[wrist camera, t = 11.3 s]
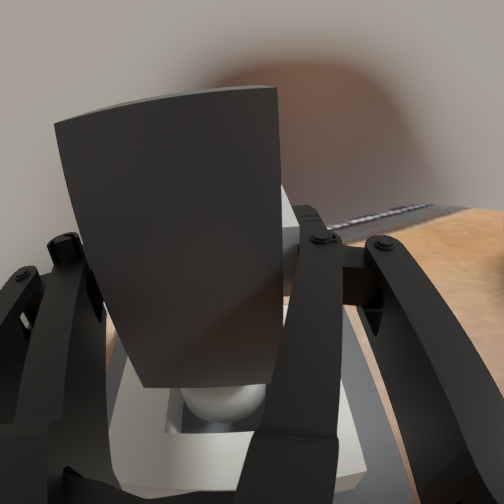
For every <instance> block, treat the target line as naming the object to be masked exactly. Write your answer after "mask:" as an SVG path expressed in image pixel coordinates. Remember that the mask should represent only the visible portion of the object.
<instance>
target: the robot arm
mask: <svg viewBox="0 0 504 504" xmlns="http://www.w3.org/2000/svg"><path fill="white" fill-rule="evenodd" d="M281 195H282V236H283V297H284V296H290V299H289V304H288V309H287V313H286V318H285V323H284V327H283V332H282V336H281V341H280V345H279V349H278V354H277V358H276V362H275V367H274V371H273V375H272V379H271V383H270V387H269V392H268V396H267V400H266V404H265V408H264V412H263V416H262V419H261V423H260V426H259V428H258V429H257V430H255V431H254V433H253V435H252V437H251V440H250V443H249V446H248V450H247V453H246V457H245V460H244V464H243V467H242V471H241V474H240V478H239V481H238V484H237V488H236V491H195V492H190V493H185V494H179V495H173V496H167V497H160V498H153V499H145V498H141V497H139V496H136V495H133V494H131V493H128V492H126V491H123V490H122V488H121V486H120V483H119V481H118V479H117V478H116V476H115V474H114V471H113V468H112V462H111V453H110V443H109V431H108V417H107V399H106V317H107V313H106V309H105V307H104V304H103V302H104V300H103V297H102V295H101V292H100V289H99V287H98V284H97V281H96V279H95V276H94V273H93V270H92V268H91V265H90V262H89V259H88V256H87V253H86V250H85V247H84V244H83V245H82V244H81V241H80V238H79V235H78V234H77V233H76V232H69V233H65V234H62V235H59V236H57V237H55V238H54V239H52V240H51V241H50V242H49V243H48V244H47V248H48V250H49V253H50V256H51V259H52V261H53V264H54V266H53V269H52V272H51V273H47V274H44V275H41V276H40V275H39V273H38V270H37V268H36V267H35V266H27V267H26V266H25V267H22V268H20V269H18V271H16V272H15V273H14V274H13V275H12V276H11V277H10V278H9V280H8V281H7V282H6V283H5V285H4V286H3V288H2V289H1V290H0V504H333V498H334V490H335V483H336V475H337V466H338V457H339V439H338V437H337V426H338V414H339V401H340V385H341V365H342V334H343V305H353V306H356V308H357V312H358V314H359V317H360V319H361V322H362V324H363V327H364V330H365V332H366V335H367V337H368V340H369V343H370V345H371V348H372V351H373V353H374V356H375V359H376V362H377V364H378V367H379V370H380V373H381V375H382V378H383V381H384V384H385V387H386V390H387V393H388V396H389V399H390V402H391V405H392V408H393V411H394V414H395V417H396V420H397V423H398V426H399V429H400V433H401V436H402V439H403V442H404V446H405V449H406V453H407V456H408V459H409V463H410V466H411V470H412V474H413V477H414V481H415V485H416V489H417V492H418V495H419V498H420V502H421V504H504V398H503V396H502V394H501V393H500V391H499V389H498V387H497V385H496V383H495V381H494V380H493V378H492V376H491V374H490V372H489V371H488V369H487V367H486V365H485V364H484V362H483V360H482V359H481V357H480V355H479V353H478V352H477V350H476V348H475V347H474V345H473V344H472V342H471V340H470V339H469V337H468V336H467V334H466V332H465V331H464V329H463V328H462V326H461V325H460V323H459V321H458V320H457V318H456V317H455V315H454V314H453V312H452V311H451V309H450V308H449V306H448V305H447V304H446V302H445V301H444V299H443V298H442V296H441V295H440V293H439V292H438V291H437V289H436V288H435V286H434V285H433V284H432V282H431V281H430V279H429V278H428V277H427V275H426V274H425V273H424V271H423V270H422V269H421V267H420V266H419V265H418V263H417V262H416V261H415V259H414V258H413V257H412V255H411V254H410V253H409V251H408V250H407V249H406V248H405V246H404V245H403V244H402V243H401V242H400V241H399V240H397V239H395V238H393V237H391V236H387V235H382V236H381V235H377V236H372V237H370V238H368V239H367V240H366V242H365V248H362V247H352V246H347V245H343V244H342V240H341V238H340V236H338V235H337V234H336V233H333V232H330V231H328V230H327V228H326V226H325V225H324V223H323V222H322V219H321V218H320V216H319V214H318V212H317V211H316V209H314V208H312V207H311V206H309V205H302V206H301V205H300V206H291V205H290V203H289V201H288V198H287V196H286V194H285V191H284V189H283V187H282V185H281ZM22 312H23V313H24V315H25V316H26V318H27V320H28V322H29V326H28V328H26V327H25V326H24V324H23V322H22V321H21V319H20V316H21V314H22Z"/></svg>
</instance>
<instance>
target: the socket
mask: <svg viewBox="0 0 504 504" xmlns="http://www.w3.org/2000/svg"><path fill="white" fill-rule="evenodd" d="M287 309H288V305H283V327H284V323H285V318H286V313H287ZM269 387H270V383H269V384H266V394H265V397H264V400H263V402H262V404H261V405H260V407H259V408H258V409H257V410H256V411H255V412H254V413H252V414H251V415H250V416H248V417H246V418H244V419H242V420H240V421H237V422H232V423H212V422H208V421H206V420H203V419H201V418H199V417H198V416H196V415H195V414H194V413H193V412H192V411H191V410H190V409H189V408H188V406H187V404H186V402H185V400H184V397H183V395H182V392H181V390H180V388H144V387H143V385H142V384H141V382H140V380H139V378H138V376H137V374H136V372H135V370H134V368H133V366H132V364H131V361H130V359H129V357H128V355H127V353H126V351H125V349H124V347H123V344H122V342H121V340H120V338H119V337H118V340H117V343H116V346H115V349H114V352H113V355H112V358H111V361H110V364H109V367H108V370H107V374H106V399H107V417H108V431H109V443H110V453H111V462H112V468H113V471H114V474H115V476H116V478H117V479H118V481H119V483H120V486H121V488H122V490H123V491H126V492H128V493H131V494H133V495H136V496H139V497H141V498H145V499H153V498H160V497H167V496H173V495H179V494H185V493H190V492H195V491H236V488H237V484H238V481H239V478H240V474H241V471H242V467H243V464H244V460H245V457H246V453H247V450H248V446H249V443H250V440H251V437H252V435H253V433H254V431H255V430H257V429H258V428H259V426H260V423H261V419H262V416H263V412H264V408H265V404H266V400H267V396H268V392H269ZM337 437H338V439H339V457H338V466H337V475H336V483H335V490H334V498H333V504H415V501H414V498H413V495H412V491H411V488H410V485H409V481H408V478H407V475H406V472H405V469H404V466H403V462H402V459H401V456H400V453H399V450H398V447H397V444H396V441H395V438H394V435H393V433H392V430H391V427H390V424H389V421H388V418H387V415H386V413H385V410H384V407H383V404H382V402H381V399H380V396H379V393H378V391H377V388H376V385H375V383H374V380H373V378H372V375H371V372H370V370H369V367H368V365H367V362H366V359H365V357H364V354H363V352H362V349H361V347H360V344H359V342H358V339H357V337H356V335H355V332H354V330H353V327H352V325H351V322H350V320H349V318H348V315H347V313H346V310H345V308H344V306H343V334H342V365H341V385H340V401H339V414H338V426H337Z"/></svg>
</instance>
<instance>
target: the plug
mask: <svg viewBox="0 0 504 504" xmlns="http://www.w3.org/2000/svg"><path fill="white" fill-rule="evenodd" d="M278 117H279V116H278V96H277V87H270V86H262V85H251V86H238V87H225V88H216V89H205V90H197V91H190V92H182V93H175V94H169V95H162V96H156V97H150V98H145V99H140V100H135V101H130V102H125V103H120V104H116V105H113V106H109V107H105V108H102V109H99V110H95V111H91V112H88V113H85V114H82V115H78V116H75V117H72V118H69V119H66V120H63V121H60V122H57V123H55V124H54V127H55V133H56V138H57V144H58V149H59V153H60V158H61V162H62V167H63V171H64V176H65V180H66V184H67V188H68V192H69V196H70V200H71V204H72V207H73V211H74V214H75V218H76V221H77V224H78V228H79V231H80V235H81V238H82V241H83V244H84V247H85V250H86V253H87V256H88V259H89V262H90V265H91V268H92V270H93V273H94V276H95V279H96V281H97V284H98V287H99V289H100V292H101V295H102V297H103V300H104V302H105V305H106V307H107V310H108V312H109V315H110V317H111V319H112V322H113V324H114V326H115V329H116V331H117V333H118V336H119V338H120V340H121V342H122V344H123V347H124V349H125V351H126V353H127V355H128V357H129V359H130V361H131V364H132V366H133V368H134V370H135V372H136V374H137V376H138V378H139V380H140V382H141V384H142V385H143V387H144V388H180V390H181V392H182V395H183V397H184V400H185V402H186V404H187V406H188V408H189V409H190V410H191V411H192V412H193V413H194V414H195V415H196V416H198V417H199V418H201V419H203V420H206V421H208V422H212V423H232V422H237V421H240V420H242V419H244V418H246V417H248V416H250V415H251V414H252V413H254V412H255V411H256V410H257V409H258V408H259V407H260V405H261V404H262V402H263V400H264V397H265V394H266V384H269V383H271V379H272V375H273V371H274V367H275V362H276V358H277V354H278V349H279V345H280V341H281V336H282V332H283V236H282V195H281V166H280V139H279V118H278Z"/></svg>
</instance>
